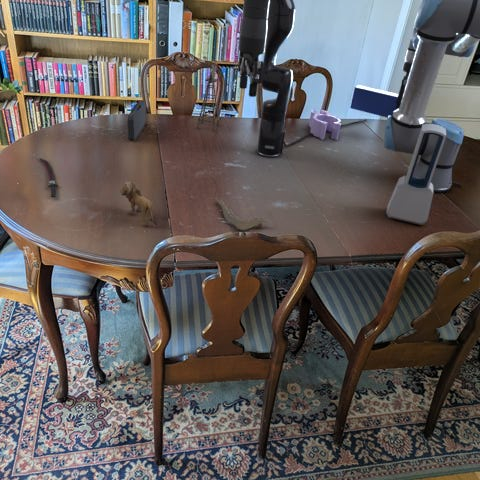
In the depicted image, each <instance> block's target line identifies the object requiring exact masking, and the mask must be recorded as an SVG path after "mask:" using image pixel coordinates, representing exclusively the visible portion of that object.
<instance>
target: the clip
mask: <svg viewBox="0 0 480 480" xmlns="http://www.w3.org/2000/svg"><path fill="white" fill-rule="evenodd" d="M341 122H342V120H341V118H339V117H337V116H335V115H332V114H330V112H329V111H327V110H325V109H320V112H319V113H318V112H317V109H311V110H310V115H309V122H308V127H309V128H310V131H309V132H310V133H309V134H311V133H313V135H312V136H314V137H316V138H319V139H320V140H323V141H324V140H325V137H326V132H330V133H331V136H330V138H331V139H333V140H335V141H338V139H339V135H340V130H341V127H342V126H341V125H342V124H341ZM340 126H341V127H340Z"/></svg>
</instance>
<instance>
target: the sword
mask: <svg viewBox="0 0 480 480" xmlns="http://www.w3.org/2000/svg"><path fill="white" fill-rule="evenodd" d="M40 161H41V162H42V163H43V165H44V166H45V169H46V173H47V176H48V185H47V188H50V198H56V197H57V189H56V188H57V187H59V185H58V184H57V183H56V180H55V176H54V172H53V169H52V167H51V164H50V163H49V161H48V160H46V159H43V158H40Z"/></svg>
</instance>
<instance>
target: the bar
mask: <svg viewBox="0 0 480 480" xmlns="http://www.w3.org/2000/svg"><path fill="white" fill-rule="evenodd" d="M398 95H399V93H396V92H391V91H386V90H382V89H378V88H374V87H369V86H365V85H361V84H357V85H356V86H354V88H353V93H352V98H351V103H350V109H351V110H355V111H360V112H362V113H363V112H364V113H368V114H371V115H375V116H380V117H383V118H387V117H388V116H393V113H394V111H395V110H396V106H397V103H396V101H397V99H398Z"/></svg>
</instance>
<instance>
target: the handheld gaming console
mask: <svg viewBox="0 0 480 480" xmlns="http://www.w3.org/2000/svg"><path fill="white" fill-rule="evenodd" d="M146 103H147V102H146V100H144V99H143V100H142V99H140V100H138V102H137V103H135V105H134V107H133V108H132V109H131V110H130V112H129V113H128V115H127V138H128V140H130V141H135V140H137V138H138V136H139V134H140V133H141V132H142V130H143V128H144V126H145V125H146V122H147V107H146V106H147V104H146Z"/></svg>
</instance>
